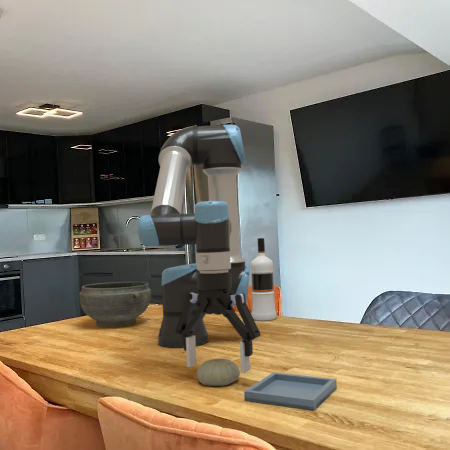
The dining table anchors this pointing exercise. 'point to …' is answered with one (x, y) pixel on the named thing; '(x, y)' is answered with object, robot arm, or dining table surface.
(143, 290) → the bowl
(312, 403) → the tray
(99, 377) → the dining table surface
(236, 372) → the sea urchin shell
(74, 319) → the dining table surface
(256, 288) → the vodka
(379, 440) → the dining table surface
